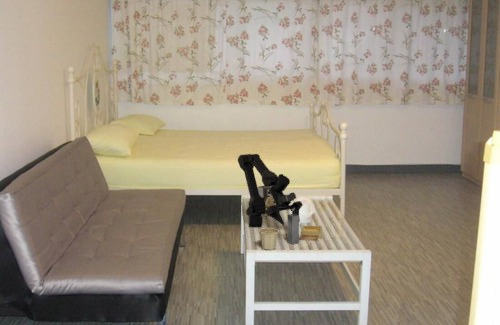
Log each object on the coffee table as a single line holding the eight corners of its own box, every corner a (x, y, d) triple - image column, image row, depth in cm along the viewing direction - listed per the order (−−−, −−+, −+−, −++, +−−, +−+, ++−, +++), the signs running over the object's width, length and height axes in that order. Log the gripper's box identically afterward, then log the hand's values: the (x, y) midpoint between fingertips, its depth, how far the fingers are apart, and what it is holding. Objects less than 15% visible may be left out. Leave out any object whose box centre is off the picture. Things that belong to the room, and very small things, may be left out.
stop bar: (287, 242, 291) (287, 214, 288) (293, 241, 293) (294, 213, 290) (292, 244, 287) (292, 216, 285) (298, 243, 289) (299, 215, 287)
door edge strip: (285, 239, 295) (285, 237, 295) (285, 238, 297) (285, 236, 297) (317, 240, 293) (317, 238, 293) (317, 239, 295) (317, 237, 295)
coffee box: (264, 216, 336) (264, 188, 333) (256, 214, 341) (256, 186, 338) (276, 213, 342) (276, 186, 339) (269, 211, 347) (269, 184, 344)
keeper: (301, 238, 297) (301, 231, 297) (302, 232, 307) (302, 225, 306) (321, 238, 296) (322, 232, 296) (321, 232, 306) (321, 226, 305)
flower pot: (281, 246, 285) (281, 228, 284) (275, 252, 276) (275, 234, 275) (262, 244, 288) (262, 226, 287) (256, 250, 279) (256, 232, 278)
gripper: (269, 189, 286) (282, 217, 279) (300, 185, 296) (314, 211, 288) (260, 202, 294) (272, 229, 287) (291, 197, 304) (304, 223, 296)
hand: (291, 223), depth 289 cm, fingers open, 9 cm apart
